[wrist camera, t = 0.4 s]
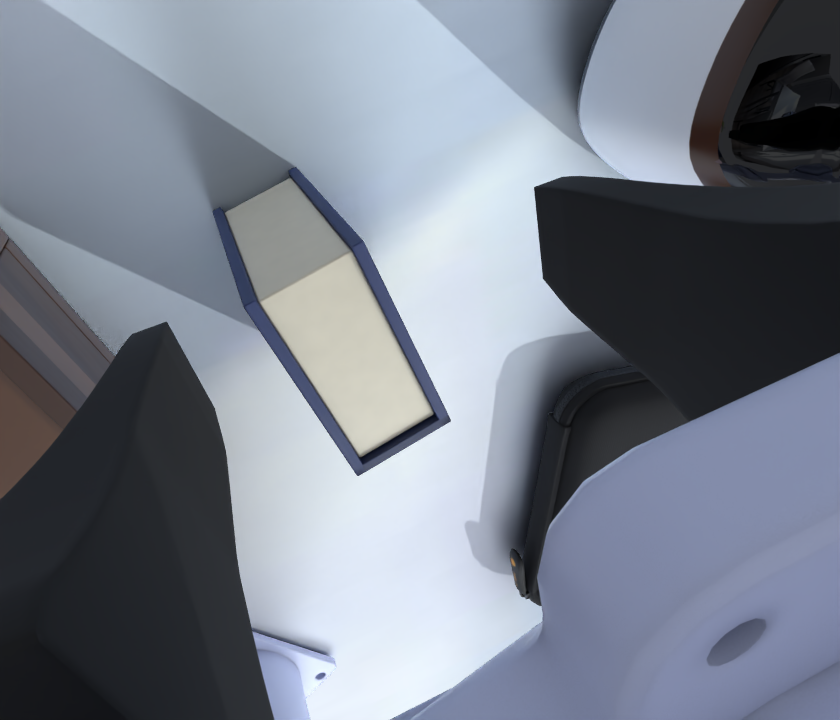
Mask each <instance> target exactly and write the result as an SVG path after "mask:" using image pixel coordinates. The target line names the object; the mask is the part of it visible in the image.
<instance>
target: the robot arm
mask: <svg viewBox="0 0 840 720" xmlns="http://www.w3.org/2000/svg"><path fill="white" fill-rule="evenodd" d="M534 191H535V201H536V211H537V221H538V231H539V242H540V252H541V262H542V272H543V279H544V280H545V281H546V283H547V284H548V285H549V286H550V288H551V289H552V290H553V291H554V293H555V294H556V295H557V297H558V298H559V299H560V300H561V301H562V302H563V303H564V305H565V306H566V307H567V308H568V309H569V310H570V311H571V312H572V313H573V314H574V315H575V316H576V317H577V318H578V319H579V320H581V321H582V322H583V323H584V324H585V325H586V326H587V327H589V328H590V329H591V330H592V331H593V332H594V333H595V334H597V335H598V336H599V337H600V338H601V339H602V340H604V341H605V342H606V343H607V344H608V345H609V346H611V347H612V348H613V349H614V350H615V351H616V352H618V353H619V354H620V355H621V356H622V357H623V358H625V359H626V360H627V361H628V362H629V363H631V364H632V365H633V366H634V367H635V368H636V369H638V370H639V371H640V372H641V373H642V374H643V375H644V376H645V377H647V378H648V379H649V380H650V381H651V382H652V383H653V384H654V385H655V386H656V387H657V388H658V389H659V390H660V391H661V392H662V393H663V394H664V395H665V396H666V397H667V398H668V400H669V401H670V402H671V403H672V404H673V405H674V406H675V407H676V408H677V409H678V410H679V412H680V413H681V414H682V415H683V416H684V417H685V418H686V419H687V420H688V421H689V422H688V423H686V424H684V425H682V426H679V427H677V428H675V429H673V430H671V431H669V432H666V433H664V434H662V435H660V436H658V437H656V438H653V439H651V440H649V441H647V442H645V443H642V444H640V445H638V446H636V447H634V448H632V449H630V450H629V451H627V452H626V453H625V454H623V455H622V456H620V457H619V458H617V459H616V460H614V461H613V462H611V463H610V464H608V465H607V466H605V467H604V468H602V469H601V470H599V471H598V472H596V473H595V474H593V475H592V476H590V477H589V478H588V479H586V480H585V481H583V483H582V484H581V485H580V486H579V488H578V489H577V490H576V492H575V493H574V494H573V495H572V497H571V498H570V499H569V501H568V502H567V503H566V504H565V506H564V507H563V508H562V510H561V511H560V512H559V513H558V515H557V516H556V517H555V519H554V520H553V521H552V522H551V524H550V526H549V528H548V531H547V534H546V538H545V543H544V548H543V552H542V557H541V561H540V566H539V571H538V575H537V580H538V586H539V592H540V598H541V605H542V611H543V621H542V622H541V623H539V624H538V625H536V626H535V627H534V628H532V629H531V630H530V631H528V632H527V633H526V634H524V635H523V636H522V637H520V638H519V639H518V640H516V641H515V642H514V643H512V644H511V645H509V646H508V647H507V648H505V649H504V650H503V651H501V652H500V653H499V654H497V655H496V656H495V657H493V658H492V659H491V660H489V661H488V662H487V663H485V664H484V665H483V666H481V667H480V668H479V669H477V670H476V671H475V672H473V673H472V674H471V675H469V676H468V677H466V678H465V679H464V680H462V681H461V682H460V683H458V684H457V685H456V686H454V687H453V688H451V689H449V690H447V691H445V692H443V693H442V694H440V695H438V696H436V697H434V698H432V699H430V700H428V701H426V702H424V703H422V704H420V705H418V706H416V707H414V708H412V709H410V710H408V711H406V712H404V713H402V714H400V715H398V716H396V717H394V718H392V719H390V720H840V182H835V183H824V184H812V185H797V186H768V187H719V186H699V185H682V184H668V183H657V182H646V181H635V180H625V179H614V178H602V177H587V176H569V177H561V178H558V179H555V180H553V181H550V182H547V183H544V184H542V185H539V186H536V187H534ZM335 669H336V663H335V660H334V658H332V657H329V656H326V655H323V654H320V653H317V652H314V651H311V650H308V649H305V648H302V647H299V646H296V645H292V644H289V643H286V642H283V641H280V640H277V639H274V638H271V637H268V636H265V635H262V634H259V633H256V632H253V631H252V628H251V624H250V619H249V615H248V610H247V606H246V601H245V597H244V593H243V588H242V584H241V579H240V574H239V567H238V561H237V554H236V545H235V535H234V525H233V514H232V504H231V494H230V484H229V475H228V466H227V457H226V450H225V446H224V442H223V438H222V434H221V430H220V426H219V423H218V419H217V415H216V411H215V408H214V406H213V404H212V403H211V401H210V399H209V397H208V395H207V394H206V392H205V390H204V388H203V386H202V385H201V383H200V381H199V379H198V377H197V375H196V374H195V372H194V370H193V368H192V366H191V365H190V363H189V361H188V359H187V357H186V356H185V354H184V352H183V350H182V348H181V347H180V345H179V343H178V341H177V339H176V338H175V336H174V334H173V332H172V330H171V328H170V327H169V325H168V323H167V322H164V323H162V324H159V325H156V326H153V327H151V328H148V329H145V330H142V331H140V332H137V333H134V334H132V335H131V336H130V337H129V338H128V339H127V341H126V342H125V343H124V345H123V346H122V348H121V349H120V351H119V352H118V353H117V355H116V356H115V358H114V359H113V361H112V362H111V364H110V365H109V367H108V369H107V370H106V371H105V373H104V374H103V376H102V377H101V379H100V380H99V382H98V383H97V385H96V386H95V388H94V389H93V391H92V392H91V394H90V395H89V396H88V398H87V399H86V401H85V402H84V403H83V405H82V406H81V407H80V409H79V410H78V411H77V413H76V414H75V415H74V416H73V418H72V419H71V420H70V422H69V423H68V424H67V426H66V427H65V428H64V430H63V431H62V432H61V433H60V435H59V436H58V437H57V439H56V440H55V441H54V442H53V444H52V445H51V446H50V447H49V448H48V450H47V451H46V452H45V453H44V454H43V455H42V456H41V458H40V459H39V460H38V461H37V462H36V463H35V464H34V465H33V466H32V467H31V469H30V470H29V471H28V472H27V473H26V474H25V475H24V476H23V477H22V478H21V479H20V480H19V481H18V482H17V483H16V484H15V485H14V486H13V487H12V488H11V489H10V490H9V491H8V492H7V493H6V494H5V495H4V496H3V497H2V498H1V499H0V720H310V715H309V711H308V707H307V703H306V698H307V697H308V696H309V695H310V694H311V693H312V692H313V691H314V690H315V689H316V688H317V687H318V686H319V685H320V684H321V683H322V682H323V681H324V680H325V679H326V678H327V677H328V676H329V675H330V674H331V673H332V672H333V671H334V670H335Z"/></svg>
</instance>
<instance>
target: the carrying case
mask: <svg viewBox="0 0 840 720" xmlns="http://www.w3.org/2000/svg"><path fill="white" fill-rule="evenodd" d="M688 422H689V421H688V420H687V419H686V418H685V417H684V416H683V415H682V414H681V413H680V412H679V410H678V409H677V408H676V407H675V406H674V405H673V404H672V403H671V402H670V401H669V400H668V398H667V397H666V396H665V395H664V394H663V393H662V392H661V391H660V390H659V389H658V388H657V387H656V386H655V385H654V384H653V383H652V382H651V381H650V380H649V379H648V378H647V377H645V376H644V375H643V374H642V373H641V372H640V371H639V370H638V369H636V368H635V367H634V366H630V367H625V368H619V369H613V370H608V371H602V372H596V373H593V374H590V375H587V376H585V377H583V378H580V379H578V380H576V381H574V382H572V383H571V384H569V385H568V386H566V387H565V388H564V390H563V391H562V393H561V394H560V396H559V398H558V401H557V404H556V407H555V409H554V412H553V413H549V414H548V424H547V430H546V435H545V441H544V446H543V451H542V457H541V462H540V468H539V473H538V479H537V484H536V490H535V495H534V501H533V506H532V511H531V517H530V522H529V528H528V533H527V539H526V544H525V550H524V555H523V561H522V558H521V556H520V554H519V553H518V552H517V551H516V550H515V549H511V551H510V561H511V566H512V571H513V576H514V581H515V585H516V587H517V589H518V590H519V592H520V595H521V597H525V598H526V599H528V598H529V599H530V600H531V601H532V602H534V603H536V604H537V605H539V606H542V605H541V598H540V592H539V586H538V580H537V575H538V571H539V566H540V561H541V557H542V552H543V548H544V543H545V538H546V534H547V531H548V528H549V526H550V524H551V522H552V521H553V520H554V519H555V517H556V516H557V515H558V513H559V512H560V511H561V510H562V508H563V507H564V506H565V504H566V503H567V502H568V501H569V499H570V498H571V497H572V495H573V494H574V493H575V492H576V490H577V489H578V488H579V486H580V485H581V484H582V483H583V481H585V480H586V479H588V478H589V477H590V476H592V475H593V474H595V473H596V472H598V471H599V470H601V469H602V468H604V467H605V466H607V465H608V464H610V463H611V462H613V461H614V460H616V459H617V458H619V457H620V456H622V455H623V454H625V453H626V452H627V451H629V450H630V449H632V448H634V447H636V446H638V445H640V444H642V443H645V442H647V441H649V440H651V439H653V438H656V437H658V436H660V435H662V434H664V433H666V432H669V431H671V430H673V429H675V428H677V427H679V426H682V425H684V424H686V423H688Z"/></svg>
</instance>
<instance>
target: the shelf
mask: <svg viewBox="0 0 840 720" xmlns="http://www.w3.org/2000/svg"><path fill="white" fill-rule="evenodd" d="M114 358H115V356H114V355H113V354H112V353H111V352H110V351H109V350H108V348H107V347H106V346H105V345H104V344H103V343H102V342H101V341H100V339H99V338H98V337H97V336H96V335H95V334H94V333H93V331H92V330H91V329H90V328H89V327H88V326H87V325H86V324H85V322H84V321H83V320H82V319H81V318H80V317H79V316H78V314H77V313H76V312H75V311H74V310H73V309H72V308H71V307H70V305H69V304H68V303H67V302H66V301H65V300H64V299H63V298H62V296H61V295H60V294H59V293H58V292H57V291H56V290H55V288H54V287H53V286H52V285H51V284H50V283H49V282H48V281H47V279H46V278H45V277H44V276H43V275H42V274H41V273H40V272H39V270H38V269H37V268H36V267H35V266H34V265H33V264H32V262H31V261H30V260H29V259H28V258H27V257H26V256H25V255H24V253H23V252H22V251H21V250H20V249H19V248H18V247H17V246H16V244H15V243H14V242H13V241H12V240H11V239H8V236H7V234H6V233H5V232H4V231H3V230H2V229H1V228H0V499H1V498H2V497H3V496H4V495H5V494H6V493H7V492H8V491H9V490H10V489H11V488H12V487H13V486H14V485H15V484H16V483H17V482H18V481H19V480H20V479H21V478H22V477H23V476H24V475H25V474H26V473H27V472H28V471H29V470H30V469H31V467H32V466H33V465H34V464H35V463H36V462H37V461H38V460H39V459H40V458H41V456H42V455H43V454H44V453H45V452H46V451H47V450H48V448H49V447H50V446H51V445H52V444H53V442H54V441H55V440H56V439H57V437H58V436H59V435H60V433H61V432H62V431H63V430H64V428H65V427H66V426H67V424H68V423H69V422H70V420H71V419H72V418H73V416H74V415H75V414H76V413H77V411H78V410H79V409H80V407H81V406H82V405H83V403H84V402H85V401H86V399H87V398H88V396H89V395H90V394H91V392H92V391H93V389H94V388H95V386H96V385H97V383H98V382H99V380H100V379H101V377H102V376H103V374H104V373H105V371H106V370H107V369H108V367H109V365H110V364H111V362H112V361H113V359H114Z"/></svg>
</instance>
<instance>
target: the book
mask: <svg viewBox="0 0 840 720" xmlns="http://www.w3.org/2000/svg"><path fill="white" fill-rule="evenodd" d="M288 172H289V174H290V176H291V178H289V179H287V180H285V181H283V182H281V183H279V184H277V185H276V186H274V187H272V188H270V189H268V190H266V191H264V192H262V193H261V194H259V195H257V196H255V197H253V198H251V199H249V200H247V201H246V202H244V203H242V204H240V205H238V206H236V207H234V208H232V209H231V210H229V211H227V212H225V213H224V212H223V210H222V208H221V207H219V208H218V209H216V210H214V211H213V215H214V218H215V221H216V224H217V227H218V230H219V233H220V236H221V239H222V242H223V245H224V248H225V251H226V255H227V258H228V261H229V264H230V267H231V270H232V273H233V276H234V279H235V282H236V285H237V288H238V291H239V294H240V297H241V300H242V304H243V307H244V308H245V310H246V311H247V313H248V314H249V316H250V317H251V319H252V320H253V322H254V323H255V325H256V326H257V328H258V329H259V331H260V332H261V334H262V335H263V337H264V338H265V340H266V341H267V343H268V344H269V346H270V347H271V349H272V350H273V352H274V353H275V354H276V356H277V357H278V359H279V360H280V362H281V363H282V365H283V366H284V368H285V369H286V371H287V372H288V374H289V375H290V377H291V378H292V380H293V381H294V383H295V384H296V386H297V387H298V389H299V390H300V392H301V393H302V395H303V396H304V398H305V399H306V401H307V402H308V403H309V405H310V406H311V408H312V409H313V411H314V412H315V414H316V415H317V417H318V418H319V420H320V421H321V423H322V424H323V426H324V427H325V429H326V430H327V432H328V433H329V435H330V436H331V438H332V439H333V441H334V442H335V444H336V445H337V447H338V448H339V450H340V451H341V452H342V454H343V455H344V457H345V458H346V460H347V461H348V463H349V464H350V466H351V467H352V469H353V470H354V472H355V473H356V475H357V476H359V475H361V474H363V473H364V472H366V471H368V470H369V469H371V468H373V467H374V466H376V465H378V464H380V463H381V462H383V461H385V460H386V459H388V458H390V457H391V456H393V455H395V454H396V453H398V452H400V451H401V450H403V449H405V448H407V447H408V446H410V445H412V444H413V443H415V442H417V441H418V440H420V439H422V438H423V437H425V436H427V435H428V434H430V433H432V432H434V431H435V430H437V429H439V428H440V427H442V426H444V425H445V424H447V423H449V422H450V421H451V420H450V418H449V416H448V413H447V411H446V409H445V407H444V405H443V403H442V401H441V399H440V397H439V395H438V393H437V391H436V389H435V387H434V385H433V383H432V381H431V379H430V377H429V375H428V372H427V370H426V368H425V366H424V364H423V362H422V360H421V358H420V356H419V354H418V352H417V350H416V348H415V346H414V344H413V342H412V340H411V338H410V336H409V334H408V331H407V329H406V327H405V325H404V323H403V321H402V319H401V317H400V315H399V313H398V311H397V309H396V307H395V305H394V303H393V301H392V299H391V297H390V295H389V293H388V290H387V288H386V286H385V284H384V282H383V280H382V278H381V276H380V274H379V272H378V270H377V268H376V266H375V264H374V262H373V260H372V258H371V256H370V254H369V252H368V250H367V247H366V245H365V243H364V241H363V240H362V239H361V238H360V237H359V236H358V235H357V234H356V233H355V231H354V230H353V229H352V228H351V227H350V226H349V225H348V224H347V223H346V222H345V220H344V219H343V218H342V217H341V216H340V215H339V214H338V213H337V212H336V211H335V209H334V208H333V207H332V206H331V205H330V204H329V203H328V202H327V201H326V200H325V198H324V197H323V196H322V195H321V194H320V193H319V192H318V191H317V190H316V189H315V187H314V186H313V185H312V184H311V183H310V182H309V181H308V180H307V179H306V178H305V176H304V175H303V174H302V173H301V172H300V171H299V170H298V169H297V168H296V167H295V168H293V169H291V170H289V171H288Z"/></svg>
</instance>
